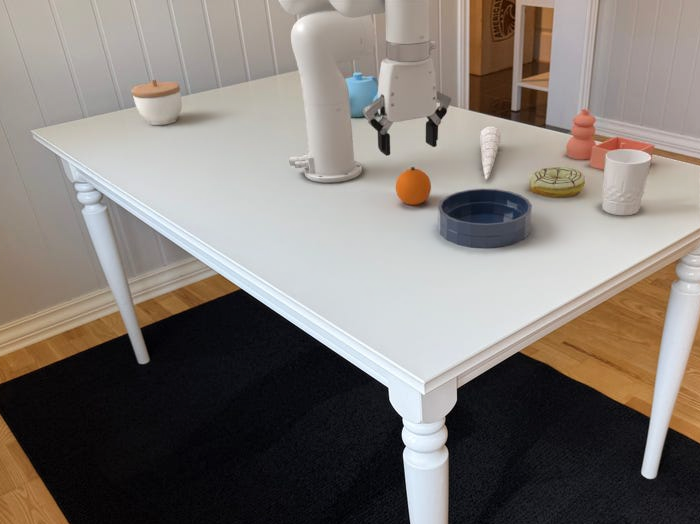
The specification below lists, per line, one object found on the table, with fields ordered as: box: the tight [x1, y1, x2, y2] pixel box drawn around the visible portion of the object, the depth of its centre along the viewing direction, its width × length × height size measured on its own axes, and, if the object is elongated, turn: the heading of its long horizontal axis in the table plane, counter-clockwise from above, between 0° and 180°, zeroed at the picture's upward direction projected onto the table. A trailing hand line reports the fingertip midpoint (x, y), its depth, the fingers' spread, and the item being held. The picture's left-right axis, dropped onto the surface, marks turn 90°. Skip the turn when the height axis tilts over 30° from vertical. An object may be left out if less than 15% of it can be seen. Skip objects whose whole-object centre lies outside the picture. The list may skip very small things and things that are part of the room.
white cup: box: [601, 149, 652, 216], centre depth 125 cm, size 8×8×10 cm
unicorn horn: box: [479, 126, 502, 180], centre depth 150 cm, size 5×24×5 cm, turn 168°
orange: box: [395, 166, 432, 206], centre depth 131 cm, size 7×7×7 cm
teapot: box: [344, 71, 379, 118], centre depth 186 cm, size 15×15×10 cm
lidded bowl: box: [130, 78, 183, 126], centre depth 186 cm, size 13×13×11 cm
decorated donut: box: [528, 166, 586, 199], centre depth 135 cm, size 10×11×4 cm
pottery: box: [565, 108, 655, 171], centre depth 147 cm, size 18×10×10 cm, turn 43°
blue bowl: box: [437, 188, 533, 249], centre depth 121 cm, size 16×16×5 cm
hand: (408, 149), depth 128 cm, fingers open, 9 cm apart
